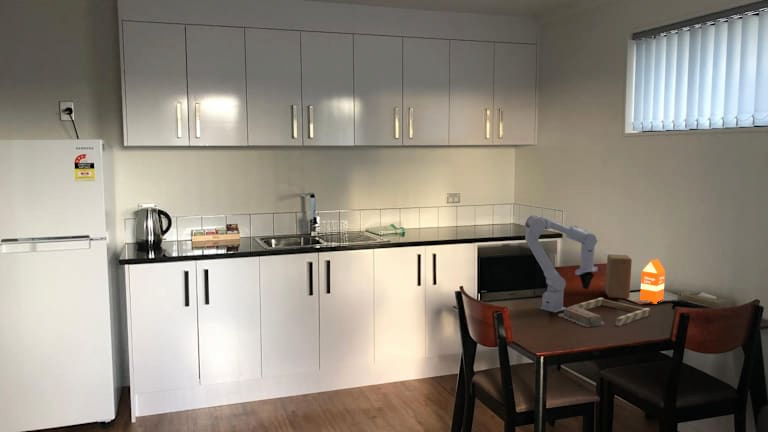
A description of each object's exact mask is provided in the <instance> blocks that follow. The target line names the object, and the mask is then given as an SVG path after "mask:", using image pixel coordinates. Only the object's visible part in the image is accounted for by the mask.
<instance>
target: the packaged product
mask: <svg viewBox="0 0 768 432" xmlns="http://www.w3.org/2000/svg"><path fill="white" fill-rule="evenodd" d="M569 306H570V307H569ZM569 306H568V307H565V309H564V310H563V313H559V314H557V315H558V317H560V318H562V317H563V318H562V319H566V320H567V319H568V321H570V320H571V321H570V322H572V321H573V322H572V323H574V322H576V323H575V324H577V323H578V325H579V326H582V325H583V327H584V326H585V328H590V327H591V326H592V327H597V326H598V325H599V326H604V325H605V322H604V321H603V320H602V315H599V314H598V313H594V312H591V311H589V310H588V309H586V310H584V309H582V308H579V307H576V306H573V305H569Z"/></svg>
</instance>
